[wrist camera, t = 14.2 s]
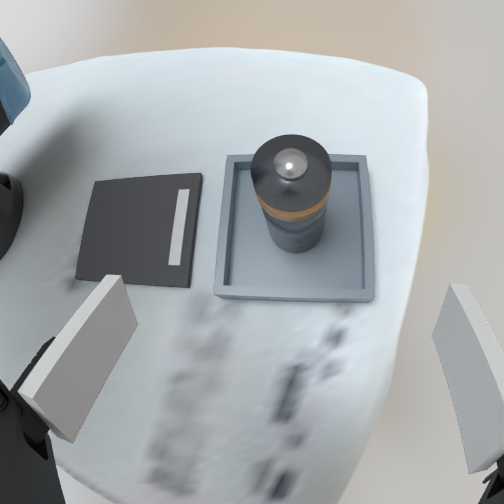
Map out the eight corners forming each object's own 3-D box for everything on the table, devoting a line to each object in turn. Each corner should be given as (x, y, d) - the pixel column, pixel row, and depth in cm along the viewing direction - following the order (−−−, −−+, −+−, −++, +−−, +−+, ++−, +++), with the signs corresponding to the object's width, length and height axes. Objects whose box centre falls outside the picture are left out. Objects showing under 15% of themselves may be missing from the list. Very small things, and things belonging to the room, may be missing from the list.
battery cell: (267, 253, 29) (245, 201, 18) (269, 201, 31) (250, 129, 20) (323, 254, 28) (335, 201, 17) (323, 202, 30) (331, 128, 19)
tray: (220, 297, 30) (213, 294, 27) (232, 167, 33) (227, 155, 31) (368, 302, 27) (374, 298, 25) (362, 168, 31) (366, 155, 29)
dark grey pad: (78, 279, 33) (74, 278, 32) (97, 183, 36) (94, 180, 35) (189, 287, 30) (186, 286, 30) (202, 175, 33) (200, 171, 33)
